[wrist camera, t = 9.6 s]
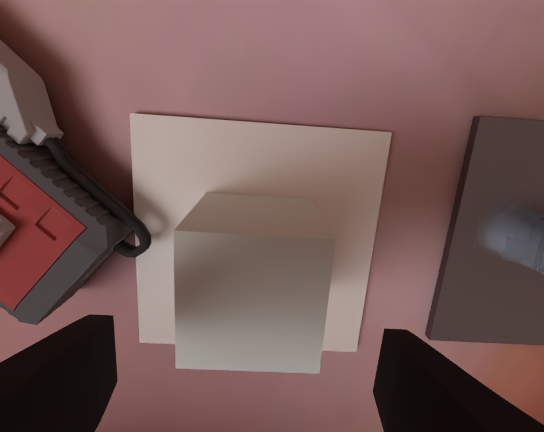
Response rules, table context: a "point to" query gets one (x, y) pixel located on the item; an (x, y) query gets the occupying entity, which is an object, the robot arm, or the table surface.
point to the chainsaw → (49, 204)
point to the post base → (495, 240)
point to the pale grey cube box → (251, 284)
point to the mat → (256, 181)
